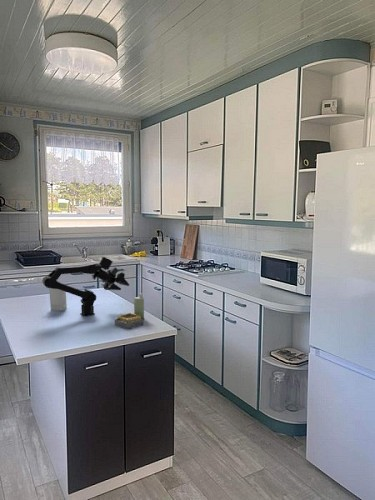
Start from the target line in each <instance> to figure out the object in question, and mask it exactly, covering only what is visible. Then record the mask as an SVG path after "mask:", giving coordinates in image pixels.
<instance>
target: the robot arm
mask: <svg viewBox="0 0 375 500" xmlns="http://www.w3.org/2000/svg"><path fill="white" fill-rule="evenodd" d="M113 262H114V261H113V260H111V259H109V258H108V257H105V256H101V260H100V261H99V263H94V264H93V263H92V262H90V263H86V264H81V265H76V266H57V267H55V268H54V270H52V271H51V272H50V273H49V274H48V275H46V276H45V277H43V279H42V280H41V281H42V282H41V283H42V285H44V286H45V287H46V288H47V289H49V288H52V289H59V290H62V291H65V292H66V293H69V294H71V295H74V296H77V297H80V298H81V299H80V305H81V309H80V310H81V311H80V312H81V313H79V315H80V316H81V315H82V316H84V317H89V316H93V315H95V314H96V313H95V306H94V303H95V301H96V300H97V295H96V294H95V293H94V291H93V290H91V289H87V288H84V290H83V289H79V288H76V287H74V286H70V285H69V284H65V283H63V282H60V281H58V279H59V278H60V277H61V275H70V274H87V275H91V277H92V279H93V280H96V279H99V280H101V281H102V283H104V284H103V286H102V287H103V289H104V290H105V291H114V290H115V291H121V290H122V288H121V287H120V286H119V285H122V286H125V287H126V286H127V287H129V286H130V283H128V281H127V280H126V279H125V277H126V274H125V273H124V272H122V271H121V272H119V271H120V270H119V269H118V268H117V267H113V268H112V269H110V267H111V266H112V264H113ZM118 272H119V273H118ZM117 273H118V274H117ZM115 283H117V284H119V285H117V284H115Z"/></svg>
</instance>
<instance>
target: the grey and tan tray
mask: <svg viewBox="0 0 375 500" xmlns="http://www.w3.org/2000/svg"><path fill="white" fill-rule="evenodd" d="M143 325H144V320H143V319H141V316H139V315H136V314H134V313H133V312H129V313H124V314H121V315H117V317H116V319H114V326H117V327H120V328H123V329H126V330H129V329H132V328H135V327H139V326H143Z"/></svg>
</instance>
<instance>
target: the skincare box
mask: <svg viewBox="0 0 375 500" xmlns="http://www.w3.org/2000/svg"><path fill="white" fill-rule="evenodd" d="M48 290H49V291H48V292H49V303H50V311H51V312H53V311H54V312H55V311H59V312H61V311H63V312H64V310H67V308H68V307H67V292H65V291H62V290H59V289H52V288H48Z"/></svg>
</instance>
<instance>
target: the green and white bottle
mask: <svg viewBox="0 0 375 500" xmlns="http://www.w3.org/2000/svg"><path fill="white" fill-rule="evenodd" d="M138 295H139V296H136V297H134V298H133V300H134V301H133V304H134V305H133V307H134V308H133V310H134V311H133V314H136V315H139V316H141V319H143V321H144V320H145V298H144V296H143V293H142V292H140V293H139V294H138Z"/></svg>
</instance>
